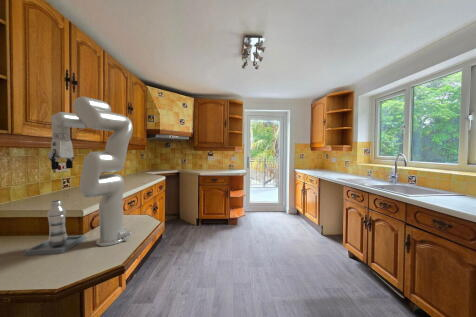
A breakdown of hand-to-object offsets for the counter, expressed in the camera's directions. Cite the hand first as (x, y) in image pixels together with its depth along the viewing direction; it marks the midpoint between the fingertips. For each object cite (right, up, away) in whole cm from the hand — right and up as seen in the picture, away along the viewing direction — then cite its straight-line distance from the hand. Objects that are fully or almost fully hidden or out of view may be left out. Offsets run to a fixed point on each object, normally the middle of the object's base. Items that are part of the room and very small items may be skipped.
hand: (62, 168), depth 111 cm
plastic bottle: (+15, -34, -20) cm, 42 cm away
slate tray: (+15, -34, -20) cm, 42 cm away
